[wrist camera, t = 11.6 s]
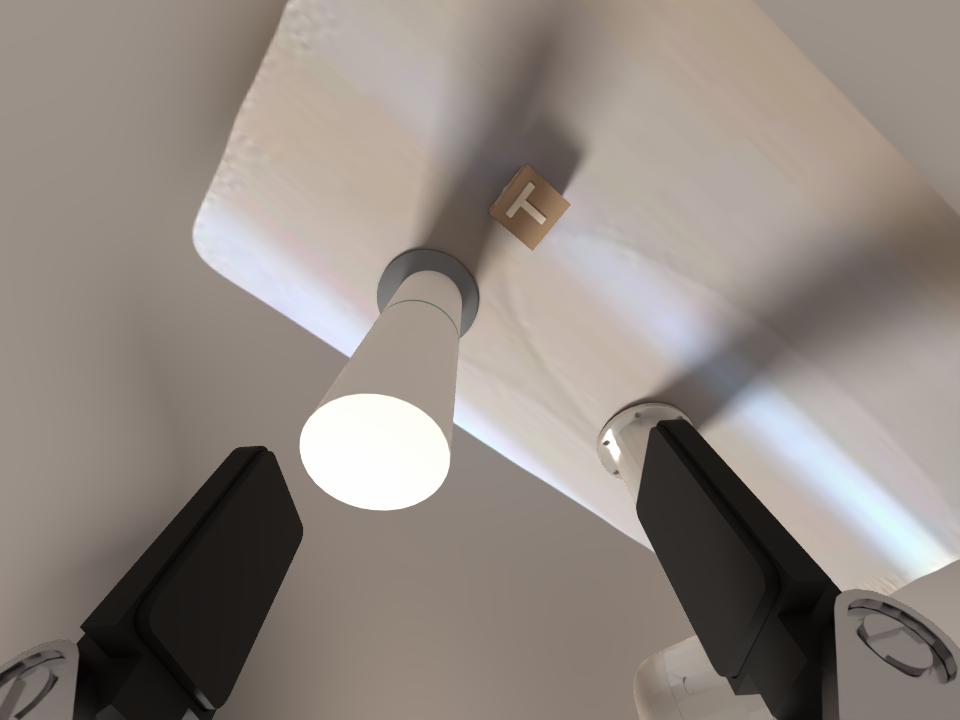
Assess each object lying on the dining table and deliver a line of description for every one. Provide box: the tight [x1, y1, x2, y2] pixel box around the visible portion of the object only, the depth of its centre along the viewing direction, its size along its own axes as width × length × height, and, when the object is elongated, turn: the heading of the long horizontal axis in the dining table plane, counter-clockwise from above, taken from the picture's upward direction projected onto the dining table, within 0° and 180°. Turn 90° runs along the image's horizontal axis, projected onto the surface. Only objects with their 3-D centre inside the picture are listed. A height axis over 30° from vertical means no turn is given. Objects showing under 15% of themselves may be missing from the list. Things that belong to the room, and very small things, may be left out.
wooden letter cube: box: [488, 164, 571, 251], centre depth 34 cm, size 5×5×5 cm
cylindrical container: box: [300, 270, 462, 510], centre depth 29 cm, size 7×7×25 cm
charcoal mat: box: [377, 250, 478, 338], centre depth 40 cm, size 11×11×1 cm
